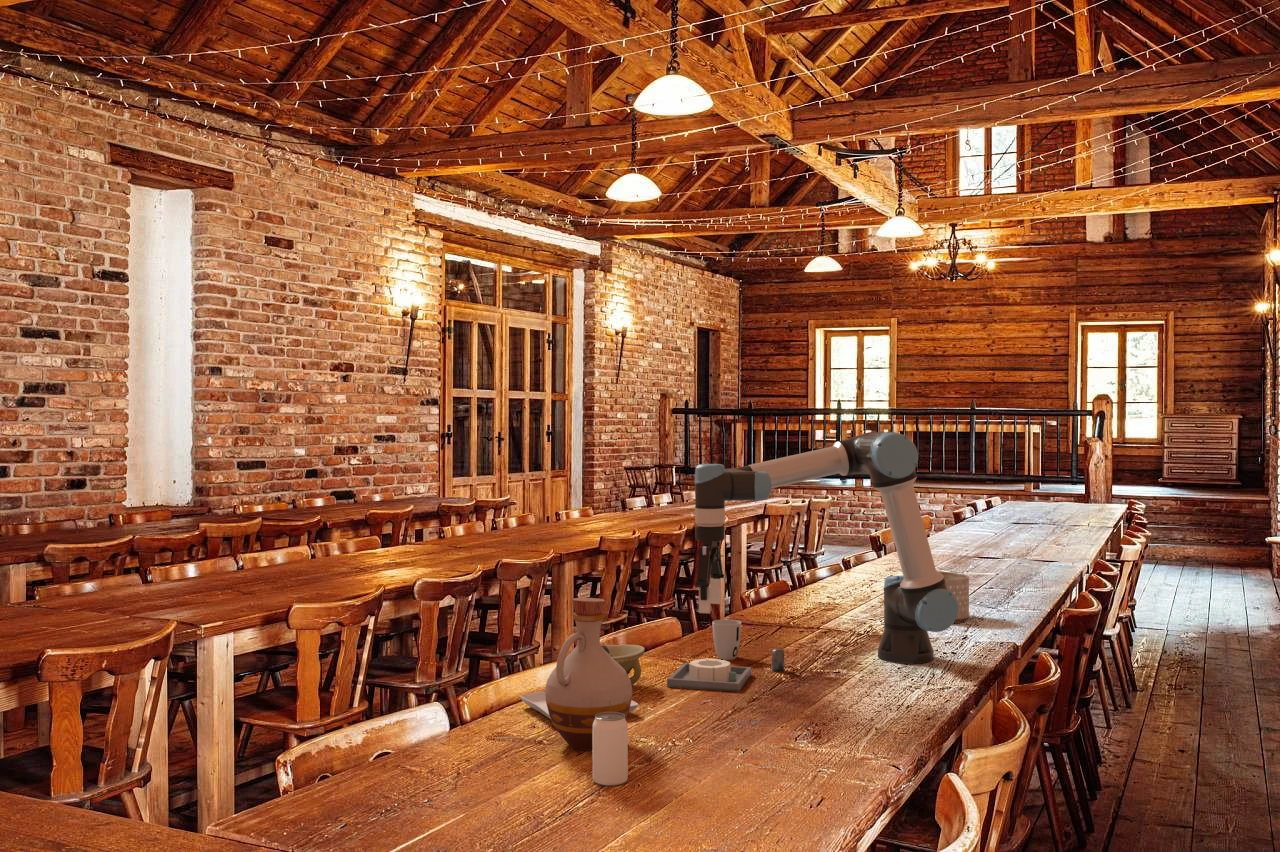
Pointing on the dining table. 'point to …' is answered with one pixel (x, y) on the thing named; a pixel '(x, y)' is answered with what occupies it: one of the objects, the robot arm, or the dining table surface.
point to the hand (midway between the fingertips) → (710, 608)
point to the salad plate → (540, 704)
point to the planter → (959, 592)
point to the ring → (711, 670)
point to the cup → (726, 638)
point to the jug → (585, 679)
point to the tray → (682, 681)
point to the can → (610, 749)
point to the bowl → (627, 658)
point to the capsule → (778, 660)
